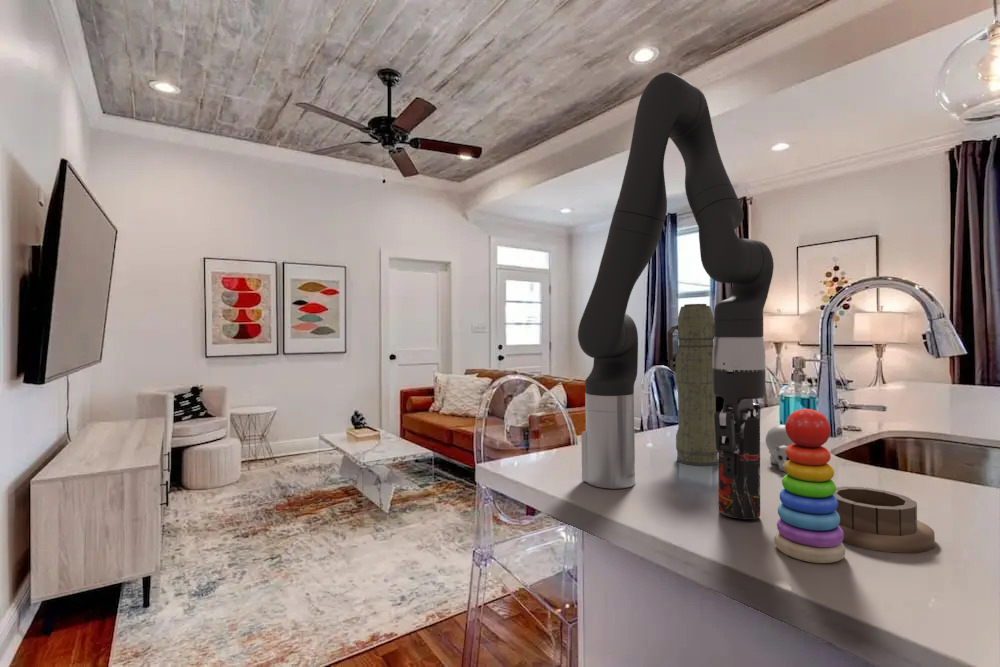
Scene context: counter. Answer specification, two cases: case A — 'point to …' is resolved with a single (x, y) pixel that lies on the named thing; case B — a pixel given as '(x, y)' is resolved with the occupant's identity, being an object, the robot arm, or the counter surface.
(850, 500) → the socket stand
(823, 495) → the stacking toy
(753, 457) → the deodorant
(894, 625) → the counter surface
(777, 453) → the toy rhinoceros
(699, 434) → the thermos
